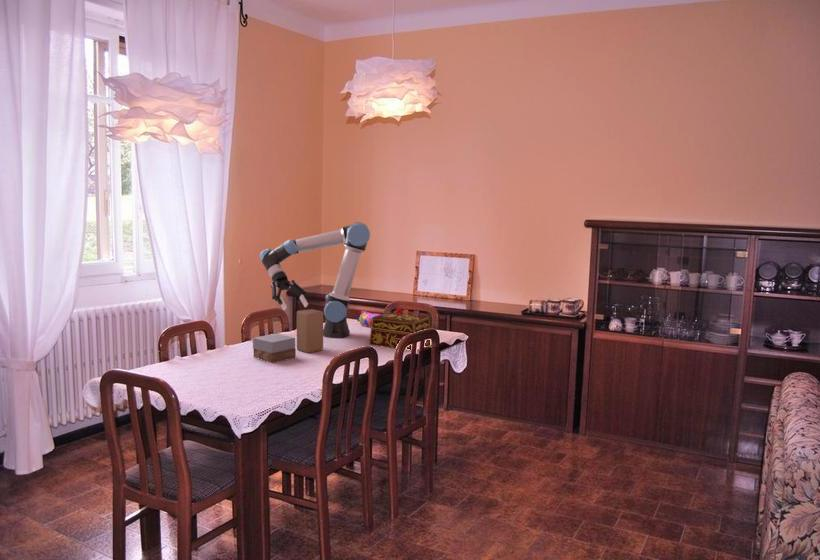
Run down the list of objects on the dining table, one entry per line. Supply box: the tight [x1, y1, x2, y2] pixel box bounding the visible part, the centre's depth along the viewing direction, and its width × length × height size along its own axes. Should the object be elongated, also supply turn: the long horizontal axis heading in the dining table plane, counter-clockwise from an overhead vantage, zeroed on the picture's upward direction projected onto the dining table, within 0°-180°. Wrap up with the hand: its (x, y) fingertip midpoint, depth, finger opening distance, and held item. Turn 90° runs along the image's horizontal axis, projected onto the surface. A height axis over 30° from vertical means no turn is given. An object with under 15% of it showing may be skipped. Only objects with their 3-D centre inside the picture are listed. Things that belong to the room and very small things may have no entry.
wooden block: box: [296, 308, 324, 354], centre depth 329 cm, size 10×10×20 cm
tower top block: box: [252, 333, 296, 353], centre depth 313 cm, size 14×14×5 cm
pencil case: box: [356, 309, 381, 328], centre depth 389 cm, size 22×9×9 cm, turn 44°
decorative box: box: [368, 312, 431, 350], centre depth 345 cm, size 28×19×15 cm
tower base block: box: [253, 347, 297, 364], centre depth 314 cm, size 14×14×5 cm
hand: (296, 307), depth 334 cm, fingers open, 13 cm apart
